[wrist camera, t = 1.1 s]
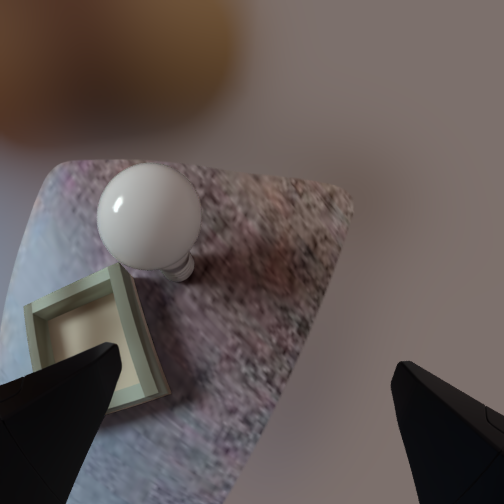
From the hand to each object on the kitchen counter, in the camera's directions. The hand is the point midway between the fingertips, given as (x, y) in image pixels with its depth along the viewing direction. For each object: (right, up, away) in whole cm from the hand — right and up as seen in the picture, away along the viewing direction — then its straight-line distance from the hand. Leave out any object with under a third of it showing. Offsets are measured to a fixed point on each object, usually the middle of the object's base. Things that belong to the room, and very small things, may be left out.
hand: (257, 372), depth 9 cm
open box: (-13, -4, +13) cm, 18 cm away
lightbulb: (-6, +2, +16) cm, 17 cm away
